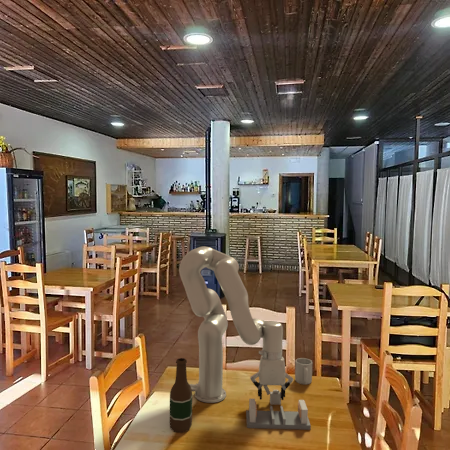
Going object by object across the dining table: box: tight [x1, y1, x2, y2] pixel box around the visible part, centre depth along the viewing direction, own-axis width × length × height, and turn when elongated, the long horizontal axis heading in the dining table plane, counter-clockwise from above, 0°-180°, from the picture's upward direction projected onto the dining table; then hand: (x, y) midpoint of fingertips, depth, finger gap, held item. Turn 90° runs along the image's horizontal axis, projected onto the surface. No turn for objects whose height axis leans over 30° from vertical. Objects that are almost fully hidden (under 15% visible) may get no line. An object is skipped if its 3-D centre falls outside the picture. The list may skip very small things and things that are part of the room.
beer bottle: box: [169, 357, 193, 434], centre depth 140 cm, size 8×8×24 cm
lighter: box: [262, 385, 282, 406], centre depth 158 cm, size 7×2×8 cm, turn 93°
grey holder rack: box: [245, 398, 312, 431], centre depth 145 cm, size 22×9×6 cm, turn 89°
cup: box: [294, 357, 313, 386], centre depth 176 cm, size 7×10×9 cm
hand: (271, 398), depth 158 cm, fingers open, 7 cm apart
